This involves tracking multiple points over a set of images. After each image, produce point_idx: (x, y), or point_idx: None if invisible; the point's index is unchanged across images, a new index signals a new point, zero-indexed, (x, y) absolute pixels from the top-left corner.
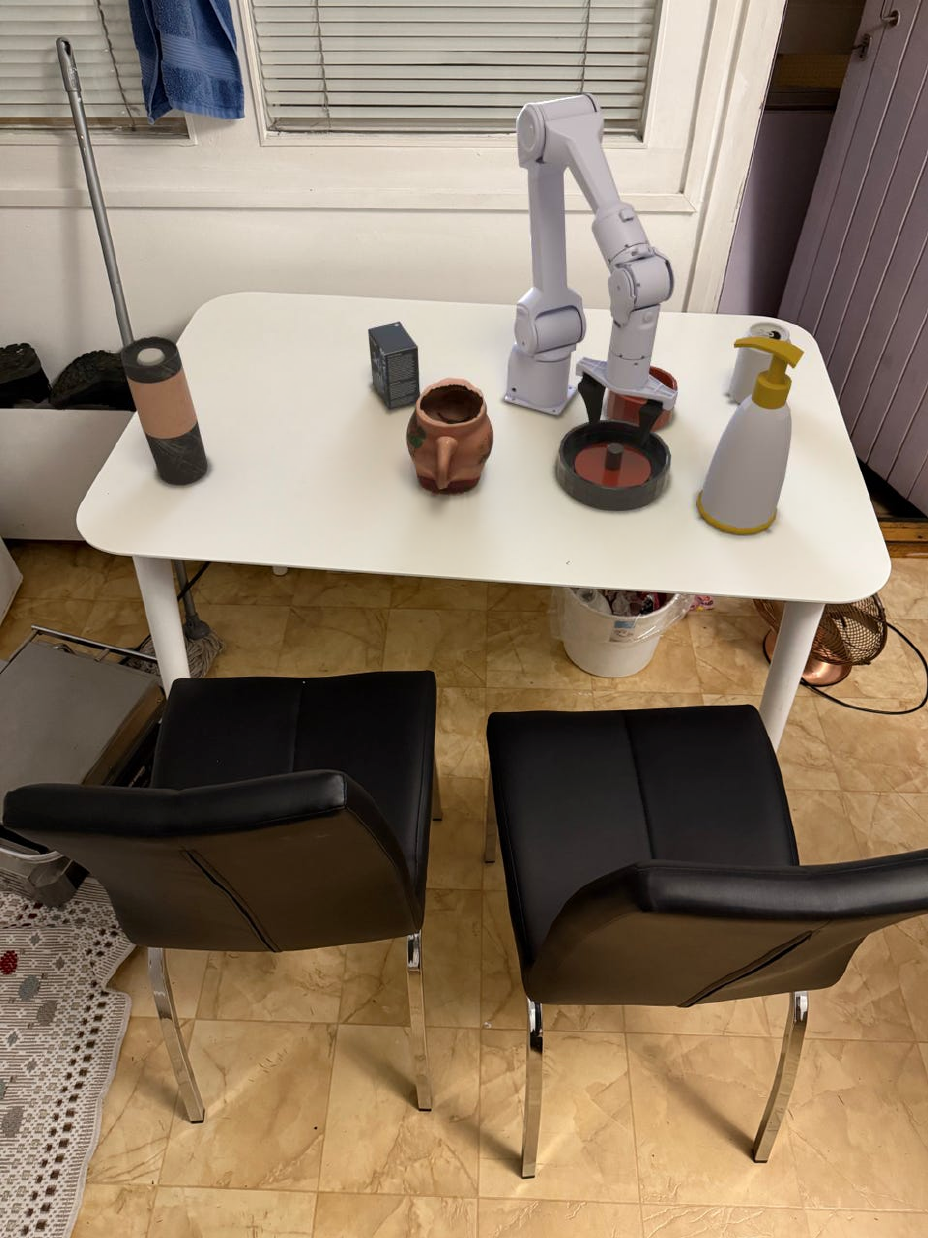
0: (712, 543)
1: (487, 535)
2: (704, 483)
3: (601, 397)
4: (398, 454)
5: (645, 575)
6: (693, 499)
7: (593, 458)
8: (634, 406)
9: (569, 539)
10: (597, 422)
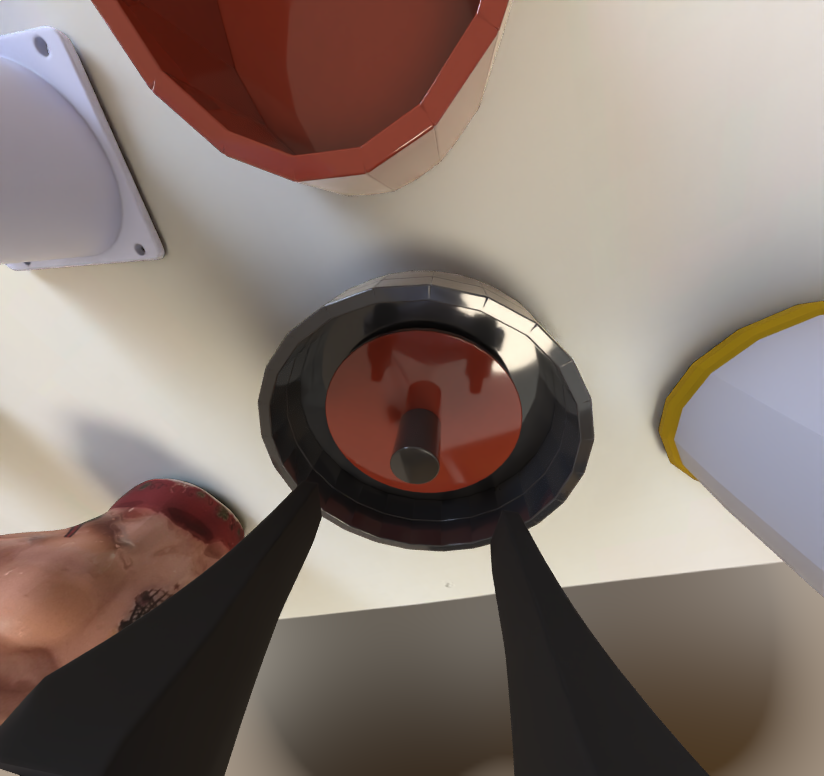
0: (691, 504)
1: (327, 576)
2: (719, 482)
3: (254, 594)
4: (100, 499)
5: (565, 579)
6: (644, 407)
7: (365, 419)
8: (354, 180)
9: (429, 557)
10: (319, 497)
